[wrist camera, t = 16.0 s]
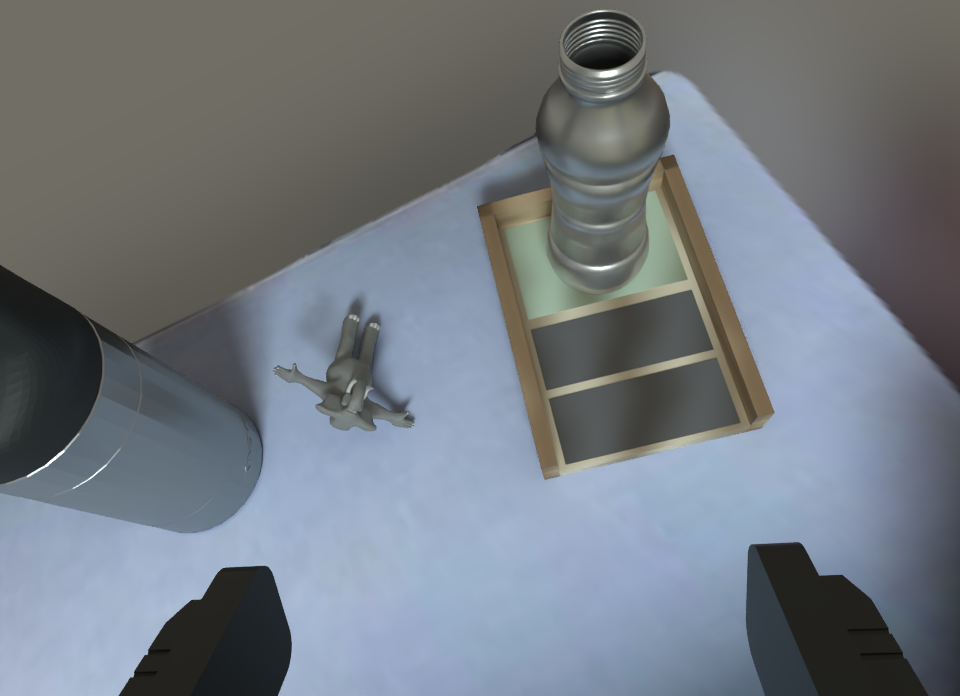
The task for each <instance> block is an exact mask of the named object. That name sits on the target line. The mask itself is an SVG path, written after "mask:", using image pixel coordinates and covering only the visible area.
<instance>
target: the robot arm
mask: <svg viewBox="0 0 960 696" xmlns="http://www.w3.org/2000/svg"><path fill="white" fill-rule="evenodd" d="M261 464H262V447H261V442H260V437H259V434H258V432H257V430H256V428H255V425H254V424H253V423H252V421H251V420H250V419H249V418H248V416H247V415H246V414H244V413H243V412H242V411H240V410H239V409H238V408H236V407H235V406H233V405H231V404H230V403H228V402H226V401H225V400H223V399H222V398H220V397H218V396H217V395H215V394H213V393H212V392H211V391H209V390H207V389H206V388H204V387H202V386H201V385H199V384H197V383H196V382H194V381H193V380H191V379H189V378H188V377H186V376H184V375H183V374H181V373H179V372H178V371H176V370H174V369H173V368H171V367H170V366H168V365H166V364H165V363H163V362H161V361H160V360H158V359H156V358H155V357H153V356H151V355H150V354H148V353H147V352H145V351H143V350H142V349H140V348H138V347H137V346H135V345H133V344H132V343H130V342H128V341H127V340H125V339H124V338H122V337H120V336H118V335H117V334H115V333H114V332H112V331H110V330H108V329H107V328H105V327H103V326H102V325H100V324H99V323H97V322H95V321H94V320H92V319H90V318H89V317H87V316H85V315H84V314H82V313H81V312H79V311H77V310H76V309H75V308H73V307H71V306H70V305H68V304H66V303H64V302H63V301H61V300H59V299H58V298H56V297H54V296H52V295H51V294H49V293H47V292H45V291H43V290H42V289H40V288H38V287H37V286H35V285H33V284H31V283H30V282H28V281H26V280H24V279H23V278H21V277H19V276H17V275H16V274H14V273H13V272H11V271H9V270H7V269H6V268H4V267H3V266H1V265H0V493H3V494H8V495H12V496H17V497H23V498H27V499H32V500H36V501H41V502H45V503H48V504H53V505H57V506H62V507H66V508H71V509H75V510H80V511H84V512H89V513H93V514H98V515H102V516H107V517H111V518H116V519H120V520H125V521H129V522H134V523H138V524H142V525H147V526H152V527H157V528H161V529H166V530H171V531H175V532H180V533H196V532H200V531H205V530H209V529H211V528H213V527H215V526H217V525H220V524H222V523H223V522H224V521H226V520H227V519H229V518H230V517H231V516H233V515H234V514H235V513H236V512H237V511H238V510H239V509H240V508H241V507H242V506H243V505H244V504H245V502H246V501H247V499H248V498H249V496H250V495H251V493H252V492H253V489H254V487H255V485H256V482H257V480H258V478H259V474H260V469H261ZM746 627H747V635H748V641H749V647H750V651H751V655H752V658H753V662H754V664H755V667H756V670H757V673H758V676H759V679H760V682H761V685H762V688H763V691H764V694H765V696H928V694H927V693H926V691H925V689H924V687H923V686H922V684H921V682H920V681H919V679H918V677H917V676H916V674H915V672H914V671H913V669H912V667H911V666H910V664H909V662H908V660H907V659H904V657H903V652H902V650H901V649H900V647H899V645H898V644H897V642H896V640H895V639H894V637H893V635H892V634H889V631H888V627H887V625H886V623H885V622H884V620H883V618H882V617H881V615H880V613H879V612H878V610H877V608H876V606H875V605H874V603H873V601H872V600H871V599H870V598H869V597H868V596H867V595H866V594H864V593H863V592H862V591H861V590H860V589H858V588H857V587H856V586H855V585H854V584H852V583H851V582H850V581H849V580H848V579H846V578H845V577H844V576H843V575H826V576H819V575H818V573H817V571H816V569H815V567H814V565H813V563H812V561H811V559H810V557H809V555H808V554H807V552H806V550H805V548H804V546H803V545H802V544H801V543H799V542H794V543H773V544H752V545H750V546H749V550H748V567H747V600H746ZM291 649H292V642H291V633H290V629H289V626H288V622H287V619H286V616H285V613H284V609H283V606H282V603H281V599H280V596H279V593H278V590H277V586H276V583H275V580H274V576H273V574H272V572H271V570H270V569H269V567H267V566H251V567H229V568H223V569H221V570H220V571H219V572H218V573H217V575H216V576H215V578H214V579H213V581H212V583H211V584H210V586H209V588H208V589H207V591H206V593H205V594H204V596H203V598H202V599H201V600H191V601H190V602H189V603H188V604H186V605H185V606H184V607H183V608H182V609H181V610H180V611H179V612H177V613H176V614H175V615H174V616H173V617H172V618H171V619H170V620H169V621H167V622H166V623H165V625H164V626H163V628H162V629H161V631H160V632H159V634H158V635H157V637H156V639H155V640H154V642H153V643H152V645H151V646H150V648H149V649H148V655H145V656H144V657H143V659H142V660H141V662H140V663H139V665H138V667H137V668H136V670H135V671H134V677H133V678H130V679H129V681H128V682H127V684H126V685H125V687H124V688H123V690H122V691H121V693H120V694H119V696H278V694H279V691H280V689H281V686H282V684H283V681H284V679H285V676H286V674H287V671H288V668H289V664H290V659H291Z"/></svg>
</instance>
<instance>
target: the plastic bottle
mask: <svg viewBox="0 0 960 696" xmlns="http://www.w3.org/2000/svg"><path fill="white" fill-rule="evenodd" d="M646 48H647V37H646V32H645V29H644V27H643V26H642V24H641V23H640V22H639V21H638V19H637V18H635V17H634V16H632V15H631V14H628V13H626V12H624V11H620V10H616V9H597V10H591V11H588V12H585V13H583V14H581V15H579V16H577V17H576V18H574V19H573V20H571V21H570V22H569V23H568V24H567V25H566V26H565V28H564V30H563V31H562V34H561V37H560V41H559V54H560V59H559V62H558V73H559V78H558V79H557V80H556V81H555V82H554V83H553V84H552V85H551V87H550V88H549V89H548V90H547V92H546V94H545V95H544V97H543V100H542V103H541V106H540V108H539V112H538V115H537V118H536V133H537V138H538V143H539V148H540V151H541V154H542V157H543V160H544V164H545V167H546V170H547V173H548V176H549V180H550V187H551V193H552V199H553V201H552V214H551V220H550V223H549V226H548V230H547V236H546V253H547V257H548V259H549V262H550V264H551V266H552V268H553V270H554V272H555V274H556V275H557V277H558V278H559V279H560V280H561V281H562V282H563V283H564V284H565V285H567V286H569V287H570V288H572V289H574V290H577V291H579V292H582V293H588V294H605V293H611V292H614V291H617V290H619V289H621V288H623V287H625V286H627V285H628V284H629V283H630V282H631V281H633V280H634V278H635V277H636V276H637V275H638V274H639V272H640V270H641V268H642V267H643V265H644V263H645V261H646V259H647V257H648V252H649V230H648V226H647V222H646V198H647V194H648V190H649V186H650V182H651V178H652V176H653V173H654V171H655V168H656V166H657V164H658V161H659V159H660V156H661V154H662V152H663V149H664V147H665V143H666V140H667V137H668V133H669V129H670V114H669V110H668V106H667V103H666V99H665V96H664V93H663V91H662V90H661V88H660V86H659V85H658V84H657V83H656V82H655V81H654V80H653V78H652V77H651V76H650V75H649V74H648V73H647V67H648V58H647V55H646Z"/></svg>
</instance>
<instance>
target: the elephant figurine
mask: <svg viewBox="0 0 960 696" xmlns="http://www.w3.org/2000/svg"><path fill="white" fill-rule="evenodd" d="M358 324H359V317H357V315H354V316H353V314H350V315H349V316H347V317H346V318H345V319H344V321H343V327H342V335H341V340H340V344H339V347H338V350H337V354H336V358H335V361H334V362H333V363H332V364H331V365H330V366H329V368H328V370H327V373H326V380H327V382H324V381H320V380H316V379H312V378H309V377H307V376H305V375H303V374H302V373H300V372H299V371H298V370H297V366H296V364H295V363H294V364H293V367H292V370H288V369H285V368H283V367H280V366H279V365H278V366H277V367H275V368H274V370H273V373H275V376H279V377H281V378H282V379H284V380H285V381H287V382H289V383H292V382H297V383H300V384H302V385H304V386H305V387H307V388H308V389H310V390H311V391H312V392H314V393H315V394H316V395H318V396H319V397H320V398H321V399H322V400H323V402H322V403H320V404H317V405H316V409H317V410H318V411H320V412H321V413H322V414H325V415H328V416H331V417H330V424H331V425H332V426H333V427H335V428H337V429H340V430H345V431H347V430H349V429H350V428H351V427H353V426H356V427H359V428H361V429H363V430H365V431H375V430H376V426H375V425H374V423H373V419H383V420H387V421H389V422H391V423H392V424H393V425H394V426H398V427H404V428H406V429H407V427H408V428H410V429H411V427H413V426H414V422H413V421H409V420H407V419H406V418H405V417H406V416H407V415H408V414H409V412H403V413H397V412H392V411H389V410H387V409H385V408H384V407H382V406H380V405H379V404H377V403H374V402H372V401H371V400H369V399H368V397H367V394H368V392H369V390H374V388H373V387H372V386H371V385H372V382H373V377H372V372H371V369H370V368H371V366H372V360H373V354H374V348H375V344H376V340H377V337H378V334H379V329H380V326H379V325H378V324H377V323H370V324H368V325H367V326H366V327H365V328H364V333H363V338H362V343H361V347H360V351H359V355H358V358H357V359H354V358H352V353H353V348H354V343H355V338H356V332H357V328H358Z"/></svg>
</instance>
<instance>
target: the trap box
mask: <svg viewBox="0 0 960 696" xmlns="http://www.w3.org/2000/svg"><path fill="white" fill-rule="evenodd" d="M552 201H553V199H552V193H551V187H549V188H545V189H541V190H537V191H533V192H529V193H526V194H522V195H518V196H514V197H510V198H507V199H503V200H499V201H495V202H491V203H487V204H484V205H480V206H477V208H478V212H479V216H480V220H481V224H482V229H483V233H484V237H485V241H486V245H487V249H488V253H489V257H490V261H491V265H492V269H493V273H494V277H495V282H496V286H497V290H498V294H499V298H500V302H501V306H502V310H503V314H504V318H505V322H506V326H507V330H508V335H509V339H510V343H511V347H512V351H513V355H514V359H515V363H516V367H517V371H518V375H519V379H520V384H521V388H522V392H523V396H524V400H525V404H526V408H527V412H528V416H529V420H530V424H531V428H532V432H533V437H534V441H535V445H536V449H537V453H538V457H539V461H540V465H541V469H542V472H543V476H544V479H545V480H546V479H550V478H554V477H558V476H563V475H567V474H571V473H575V472H579V471H584V470H588V469H592V468H596V467H600V466H604V465H609V464H613V463H617V462H621V461H625V460H630V459H634V458H638V457H642V456H646V455H651V454H655V453H659V452H663V451H667V450H672V449H676V448H680V447H684V446H688V445H693V444H697V443H701V442H705V441H709V440H714V439H718V438H722V437H726V436H730V435H735V434H739V433H743V432H747V431H751V430H756V429H760V428H762V427H763V425H764V424H765V423H766V422H767V421H768V420H769V419H770V418H771V416H772V415H773V414H774V413H775V412H774V410H773V407H772V405H771V402H770V400H769V397H768V394H767V392H766V389H765V387H764V384H763V382H762V379H761V377H760V374H759V371H758V369H757V366H756V364H755V361H754V359H753V356H752V353H751V351H750V348H749V346H748V343H747V341H746V338H745V336H744V333H743V330H742V328H741V325H740V323H739V320H738V318H737V315H736V312H735V310H734V307H733V305H732V302H731V300H730V297H729V295H728V292H727V289H726V287H725V284H724V282H723V279H722V277H721V274H720V272H719V269H718V266H717V264H716V261H715V259H714V256H713V254H712V251H711V248H710V246H709V243H708V241H707V238H706V236H705V233H704V231H703V228H702V225H701V223H700V220H699V218H698V215H697V213H696V210H695V207H694V205H693V202H692V200H691V197H690V195H689V192H688V190H687V187H686V184H685V182H684V179H683V177H682V174H681V172H680V169H679V167H678V164H677V161H676V159H675V156H674V155H671V156H667V157H663V158H660V159H659V161H658V164H657V166H656V168H655V171H654V173H653V176H652V178H651V182H650V186H649V190H648V194H647V198H646V222H647V226H648V230H649V252H648V257H647V259H646V261H645V263H644V265H643V267H642V268H641V270H640V272H639V274H638V275H637V276H636V277H635V278H634V280H633V281H631V282H630V283H629V284H628V285H627V286H625V287H623V288H621V289H619V290H617V291H614V292H611V293H605V294H588V293H582V292H579V291H577V290H574V289H572V288H570V287H569V286H567V285H565V284H564V283H563V282H562V281H561V280H560V279H559V278H558V277H557V275H556V274H555V272H554V270H553V268H552V266H551V264H550V262H549V259H548V257H547V253H546V236H547V230H548V226H549V223H550V220H551V214H552Z"/></svg>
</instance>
